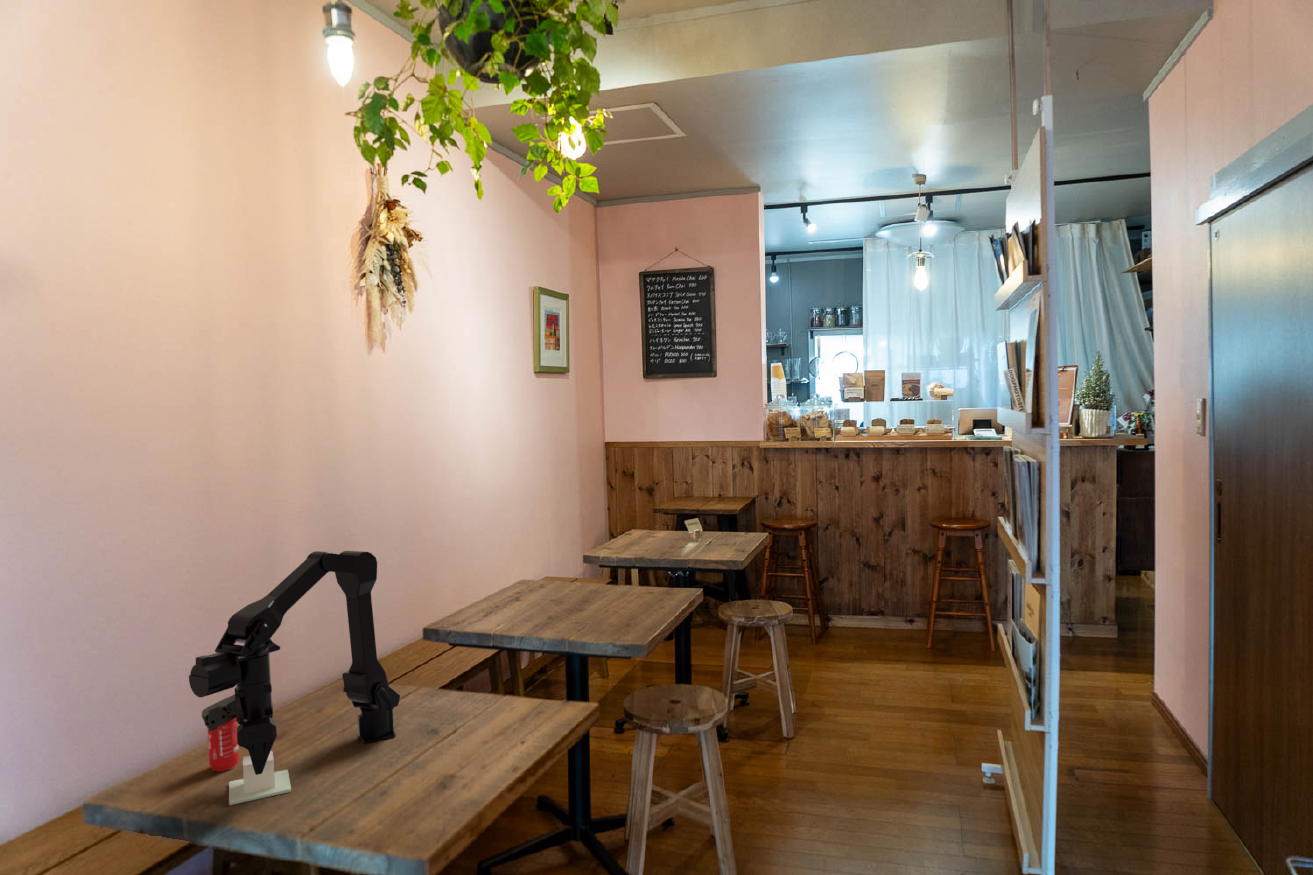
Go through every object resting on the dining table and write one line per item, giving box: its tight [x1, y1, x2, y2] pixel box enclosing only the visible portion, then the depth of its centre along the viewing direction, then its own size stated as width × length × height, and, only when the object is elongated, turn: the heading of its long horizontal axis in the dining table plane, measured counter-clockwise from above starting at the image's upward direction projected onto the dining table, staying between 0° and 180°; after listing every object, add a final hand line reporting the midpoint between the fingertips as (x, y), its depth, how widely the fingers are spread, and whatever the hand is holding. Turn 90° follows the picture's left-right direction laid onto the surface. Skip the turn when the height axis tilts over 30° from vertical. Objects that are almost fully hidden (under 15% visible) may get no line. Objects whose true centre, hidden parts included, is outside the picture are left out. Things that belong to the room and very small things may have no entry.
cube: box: [242, 750, 275, 793], centre depth 153 cm, size 5×5×5 cm
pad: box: [228, 769, 292, 806], centre depth 153 cm, size 10×10×1 cm
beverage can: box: [206, 717, 240, 772], centre depth 163 cm, size 5×5×12 cm
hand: (258, 764), depth 153 cm, fingers open, 9 cm apart
